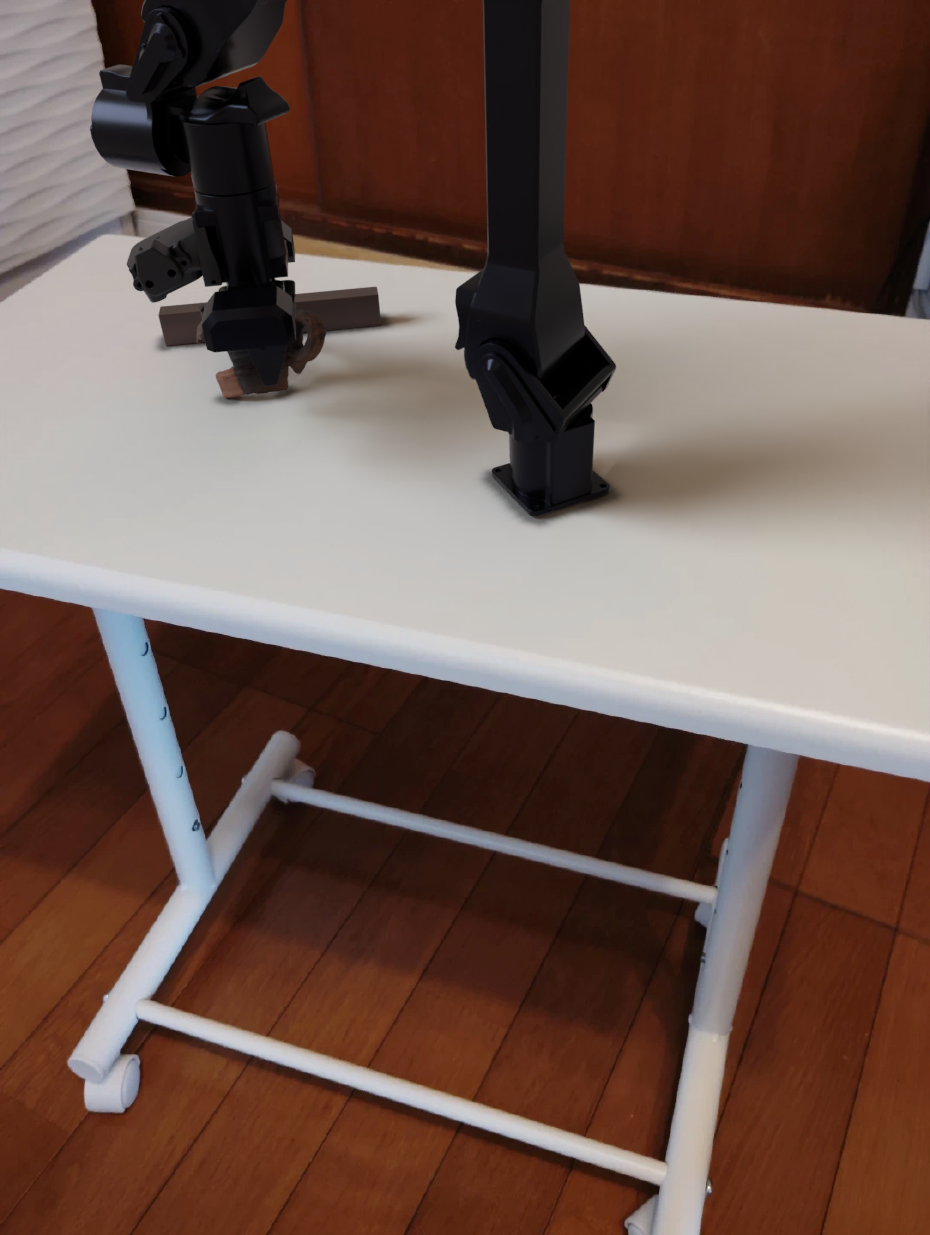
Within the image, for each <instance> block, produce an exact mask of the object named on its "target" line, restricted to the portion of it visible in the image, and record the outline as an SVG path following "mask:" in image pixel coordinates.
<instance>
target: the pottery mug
mask: <svg viewBox="0 0 930 1235" xmlns="http://www.w3.org/2000/svg"><path fill="white" fill-rule="evenodd" d="M204 307H205V304H203V305H201V306H200V307H199V310H200V313H201V317H202V319H203V313H204ZM295 312H296V315H295V323H296V341H295V342H293V343H291V344H290V345H287V349H286V352H285V356H284V360H283V364H282V368H281V373H280V377H279V381H278V384H277V385H273V386H265V385H264V384H263V382H262V380H261V378H260V376H259V374H258V372H257V370H256V368H255V366H254V364H253V361H252V359H251V357H250V355H249V353H248V351H247V349H246V350H235V351H226V352H227V354H228V356H229V360H230V362H231V364H232V366H230V368H227V369H223V370H222V371H218V372H217V373H215V379H216V382H217V384H218V386H219V388H220V392H221V394H222V397H223V398H224V399H229V398H231V399H232V398H237V397H241V396H247V395H252V394H256V395H261V394H262V395H263V394H264V395H265V394H269V393H276V392H284V391H288V390H289V375H290V374H289V369H292V371H293V372H294V373H295V374H296V375H297V374H298V375H300V374H302V373H303V371H304V370H305V368H306V365H307V363H308V362H312V361H314V360H315V359H316V358H317V357H318V356H319V355H320V353H321V351H322V349H323V347H324V344H325V339H326V336H327V330H325V328H324V325H323V322H322V320H321V318H320V317H319V316H318V315H317V314H316V313H314V312H313V311H310V310H302V309H298V310H295ZM304 326H306V328H307V332H306V333H307V337H306V340H305V342H304V334H303V328H304ZM196 337H197V341H196V343H195V344H197V345H201V343H203V342H202V341H203V340H204V339H205V338H204V333H203V329H202V320H201V322H200V324H199V325H198V328H197V336H196Z"/></svg>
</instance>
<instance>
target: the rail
mask: <svg viewBox="0 0 930 1235" xmlns="http://www.w3.org/2000/svg"><path fill="white" fill-rule="evenodd" d="M294 301H295V310H298V309H302V310H310V311H313V312H314V313H316V314H317V315H318V316H319V317H320V318H321V320H322V322H323V325H324V328H325V330H326V331H335V330H346V329H356V328H357V329H358V328H367V327H379V326H382V319H381V308H380V298H379V291H378V287H377V286H367V287H366V286H365V287H356V288H344V289H335V290H334V289H333V290H322V291H314V292H304V293H303V292H301V293H295V300H294ZM207 302H208V301H207ZM207 302H195V303H186V304H185V303H184V304H176V305H175V304H173V305H162V306H160V307H159V311H158V314H157V315H158V318H159V319H158V320H159V324H160V328H161V332H162V337H163V340H164V345H165V346H166V347H167V346H178V345H179V346H180V345H189V344H190V345H191V344H197V343H196V341H197V337H196V336H197V328H198V325H199V324H200V322H201V320H202V317H201V313H200V310H199V307H200V306H201V305H203V304H206V303H207ZM303 333H308V332H307V328H306V326H304V328H303ZM201 343H206V342H205V339H204V340H203V341H202V342H201Z"/></svg>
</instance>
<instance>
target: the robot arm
mask: <svg viewBox="0 0 930 1235" xmlns="http://www.w3.org/2000/svg"><path fill="white" fill-rule="evenodd" d="M287 1H288V0H144V1H143V3H142V6H141V12H140V18H141V20H142V22H143V23H144V24H143V28H142V31H141V35H140V37H139V38H140V39H139V42H138V46H137V49H136V53H135V56H134V60H133V63H132V65H127V64H116V65H112V66H109V67H107V68H106V67H105V68H103V69H100V70H99V72H98V75H99V79H100V83H101V87H102V89H101V90H100V91H99V93H98V94H97V96H96V98H95V100H94V103H93V106H92V109H91V110H92V111H91V119H90V120H91V124H90V126H89V131H90V135H91V140H92V143H93V145H94V147H95V149H96V151H97V152H98V154H99V156H100V157H101V158H102V159H103V160H104V161H105V162H106V163H107V164H109V165H111V166H112V167H115V168H118V169H125V170H130V171H136V172H143V173H149V174H157V175H161V176H168V177H169V176H170V177H175V178H178V177H185V176H187V175H188V174H190V177H191V181H192V182H191V183H192V187H193V191H194V196H195V199H194V205H195V209H194V211H192V212H191V217H189V218H187V219H183V220H180V221H178V222H176V223H174V224H172V225H170V226H168V227H165V228H163V229H162V230H160V231H158V232H156V233H154V234H151V235H150V236H148V237H147V236H146V237H145V238H143V239H142V240H140V241H139V242H137V243H135V244H134V245H133V246H132V248H130V252H129V255H128V258H127V261H126V266H127V268H128V271H129V273H130V274H131V276H132V280H133V281H132V286H133V289H135V290H136V291H138V292H143V293H145V295H146V297H147V298H148V300H149V301H150V302H151V303H158V302H161V301H163V300H165V299H167V297H168V295H169V294H171V293H174V292H176V291H178V290H179V289H180V290H181V289H182V288H183V287H186V286H188V285H190V284H192V283H194V282H196V281H197V280H199V279H200V278H201V277H202V279H203V285H204V287H205V288H206V287H207V288H208V287H219V288H218V290H217V291H214V292H213V293H212V295H211V296H210V297H209V299H208V300H207V303H206V304H205V307H204V313H203V319H202V329H203V333H204V338H205V342H204V343H205V346H206V350H207V351H209V352H212V353H224V352H227V351H235V350H246V349H247V351H248V353H249V355H250V357H251V359H252V361H253V364H254V366H255V368H256V370H257V372H258V374H259V376H260V378H261V380H262V382H263V384H264V385H265V386H273V385H277V384H278V381H279V377H280V373H281V368H282V364H283V360H284V356H285V352H286V349H287V345H290V344H291V343H293V342H295V341H296V323H295V315H296V312H295V301H294V300H295V294H296V281H294V280H292V279H282V280H281V279H280V278H288V277H289V264H290V263H296V249H295V243H294V235H293V229H292V227H291V226H289V225H288V224H286V223H285V221H283V220H282V217H281V211H280V192H279V186H278V184H277V183H276V179H275V174H274V173H275V172H274V167H273V166H274V165H273V162H272V154H271V149H270V148H271V147H270V142H269V136H268V129H267V122H269V121H272V120H274V119H277V118H279V117H281V116H284V115H286V114H288V113H289V112H290V109H291V106H290V104H289V102H288V101H287V100H286V99H285V98H283V96H282V95H281V94H279V93H278V92H276V91H275V90H273V89H272V88H271V87H270V86H269V85H268V84H267V82H266V81H265V79H264V78H263V77H262V76H261V75H260V76H259V75H257V76H255V77H253V78H250V79H247V80H244V81H241V82H239V83H238V85H237V87H233V86H223V85H214V86H210V87H208V88H206V89H205V90H204V91H203V92H201V93H200V94H199V95H198V92H197V89H196V88H197V87H201V86H203V85H206V84H209V83H212V82H215V81H217V80H220V79H223V78H226V77H228V76H229V75H232V74H235V73H238V72H241V71H243V70H247V69H250V68H252V67H254V66H256V65H257V64H259V63H260V62H261V61H262V59H263V58H264V57H265V55H266V53H267V51H268V50H269V48H270V46H271V45H272V43H273V41H274V39H275V38H276V36H277V34H278V32H279V31H280V29H281V27H282V25H283V22H284V17H285V16H284V15H285V8H286V3H287ZM570 12H571V0H482V33H483V37H482V38H483V40H482V41H483V79H484V81H483V82H484V83H483V85H484V88H483V89H484V127H485V129H484V132H485V134H484V135H485V136H484V137H485V139H484V140H485V183H486V184H485V187H486V233H487V234H486V235H487V236H486V237H487V241H486V242H487V254H486V260H485V264H484V266H483V268H482V269H481V270H480V271H478V272H477V273H475V274H474V275H473V276H470V278H469V279H467V280H465V281H464V282H463V283H462V284H460V285H458V287H457V288H456V289H455V299H454V300H455V301H454V303H455V309H456V314H457V315H456V316H457V320H458V321H457V322H458V335H457V339H456V342H455V344H454V348H455V350H456V351H460V350H463V360H464V365H465V368H466V371H467V373H468V376H469V377H470V379H472V380H475V382H476V385H477V388H478V391H479V393H480V396H481V398H482V401H483V404H484V407H485V410H486V412H487V416H488V419H489V421H490V423H491V424H490V425H491V426H492V428H493V429H494V430H497V431H502V432H505V433H508V435H509V439H508V440H509V441H508V442H509V444H508V446H509V463H505V464H501V465H498V466H496V467H493V468H492V469H491V477H492V478H493V479H494V481H495V482H496V483H498V485H500V487H502V488H503V490H504V491H505V492H506V493H507V494H508V495H509V496H510V497H511V498H512V499H513V500H514V501H515V502H516V503H517V504H518V505H519V506H520V507H521V508H523V510H524V511H525V512H526V513H527V514H528V515H529V516H531V517H540V516H543V515H546V514H550V513H552V512H555V511H558V510H562V509H566V508H568V507H571V506H574V505H577V504H580V503H583V502H586V501H589V500H592V499H596V498H599V497H601V496H605V495H608V494H609V493H610V492H611V491H610V490H611V485H610V484H609V482H607V481H606V480H605V479H604V478H603V477H602V476H601V475H599V474H598V473H597V472H596V471H595V470H594V469H593V468H594V467H593V466H594V451H595V449H594V447H595V429H596V427H595V426H596V420H595V419H594V417H593V416H594V407H593V406H594V405H593V403H592V402H593V401H594V400H596V398H597V397H598V396H599V395H600V394H601V393H603V392H604V391H606V389H607V388H609V385H610V382H611V381H612V378H613V377H614V374H615V372H616V370H617V365H616V362H615V361H614V360H613V358H611V356H610V355H609V354H608V353H607V351H606V350H605V349H604V347H603V346H602V345H601V344H600V342H599V341H598V339H597V338H596V337H595V336H594V335H593V333H592V332H591V331H590V330H589V329H588V327H587V326H586V325H585V318H584V310H583V301H582V294H581V293H582V292H581V285H580V282H579V279H578V278H577V275H576V274H575V271H574V268H573V267H572V265H571V262H570V261H569V258H568V256H567V254H566V251H565V246H564V229H565V228H564V225H565V194H566V193H565V192H566V191H565V190H566V161H567V160H566V158H567V157H566V156H567V123H568V122H567V120H568V119H567V118H568V86H569V50H570V20H571V19H570V18H571V17H570V16H571V13H570ZM278 278H279V279H278ZM225 283H226V285H223V284H225ZM222 285H223V286H222ZM220 286H221V287H220Z"/></svg>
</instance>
